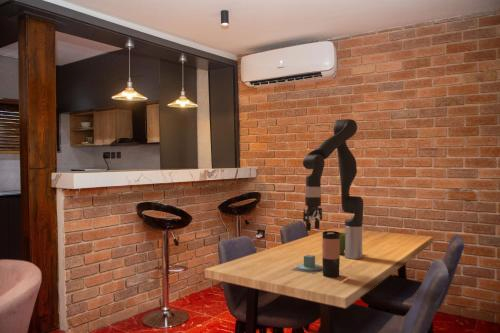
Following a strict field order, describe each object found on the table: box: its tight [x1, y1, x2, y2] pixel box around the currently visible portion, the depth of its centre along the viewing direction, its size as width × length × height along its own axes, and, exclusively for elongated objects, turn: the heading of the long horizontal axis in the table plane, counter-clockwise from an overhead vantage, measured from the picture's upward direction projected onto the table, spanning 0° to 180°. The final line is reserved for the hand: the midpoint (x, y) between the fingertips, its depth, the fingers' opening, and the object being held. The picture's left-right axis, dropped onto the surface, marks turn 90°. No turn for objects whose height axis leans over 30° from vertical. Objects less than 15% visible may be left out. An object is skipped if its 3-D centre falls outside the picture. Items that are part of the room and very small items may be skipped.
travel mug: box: [321, 230, 341, 279], centre depth 184 cm, size 8×8×20 cm
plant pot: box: [338, 231, 345, 255], centre depth 232 cm, size 12×12×11 cm
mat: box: [291, 265, 323, 275], centre depth 196 cm, size 15×12×1 cm
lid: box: [297, 254, 322, 272], centre depth 196 cm, size 11×11×6 cm
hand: (312, 229), depth 197 cm, fingers open, 8 cm apart
